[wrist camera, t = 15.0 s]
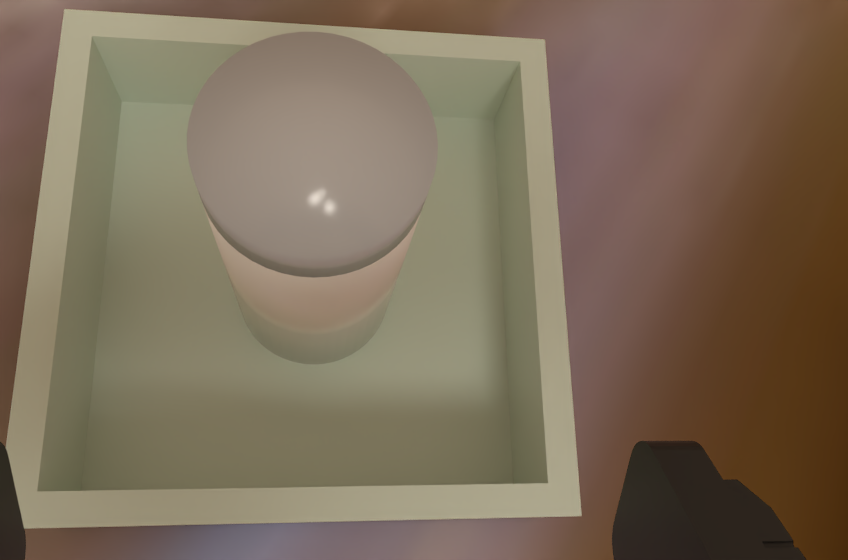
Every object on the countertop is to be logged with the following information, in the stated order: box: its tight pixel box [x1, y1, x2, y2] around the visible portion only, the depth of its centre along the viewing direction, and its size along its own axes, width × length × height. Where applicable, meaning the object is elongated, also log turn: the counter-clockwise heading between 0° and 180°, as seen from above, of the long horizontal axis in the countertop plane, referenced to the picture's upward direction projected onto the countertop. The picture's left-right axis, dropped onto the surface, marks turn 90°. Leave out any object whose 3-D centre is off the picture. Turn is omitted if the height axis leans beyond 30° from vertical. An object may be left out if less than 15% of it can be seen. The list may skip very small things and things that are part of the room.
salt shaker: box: [187, 32, 438, 364], centre depth 19 cm, size 4×4×10 cm
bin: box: [6, 9, 582, 529], centre depth 22 cm, size 14×14×4 cm
